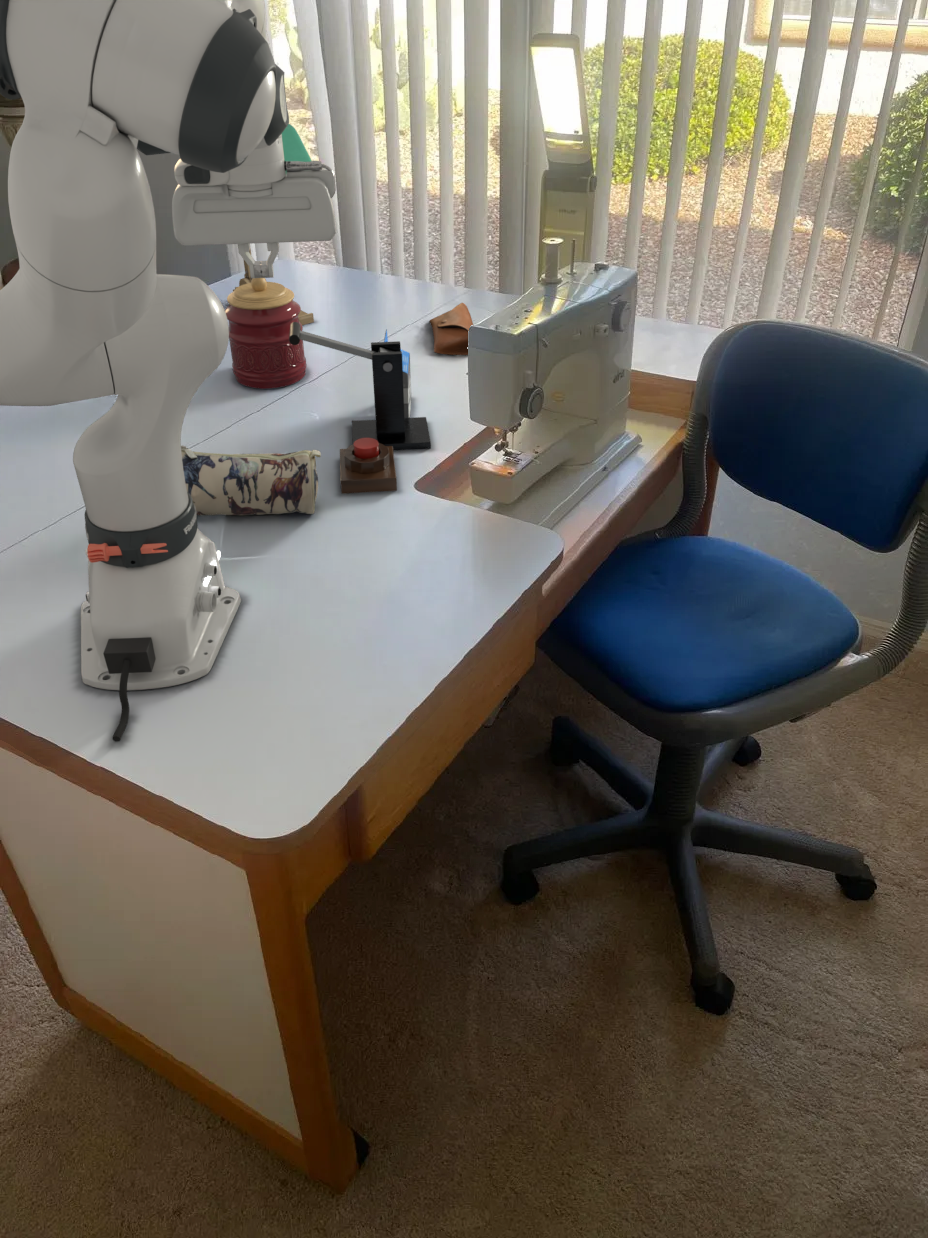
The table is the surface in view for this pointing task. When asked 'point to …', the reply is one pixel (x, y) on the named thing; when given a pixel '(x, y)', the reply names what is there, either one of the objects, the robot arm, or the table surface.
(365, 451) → the button
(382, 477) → the control block
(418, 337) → the table surface
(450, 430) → the table surface
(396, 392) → the bracket
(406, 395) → the tape cartridge
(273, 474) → the pencil case
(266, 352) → the kitchen canister
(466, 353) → the sunglasses case
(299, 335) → the lever
